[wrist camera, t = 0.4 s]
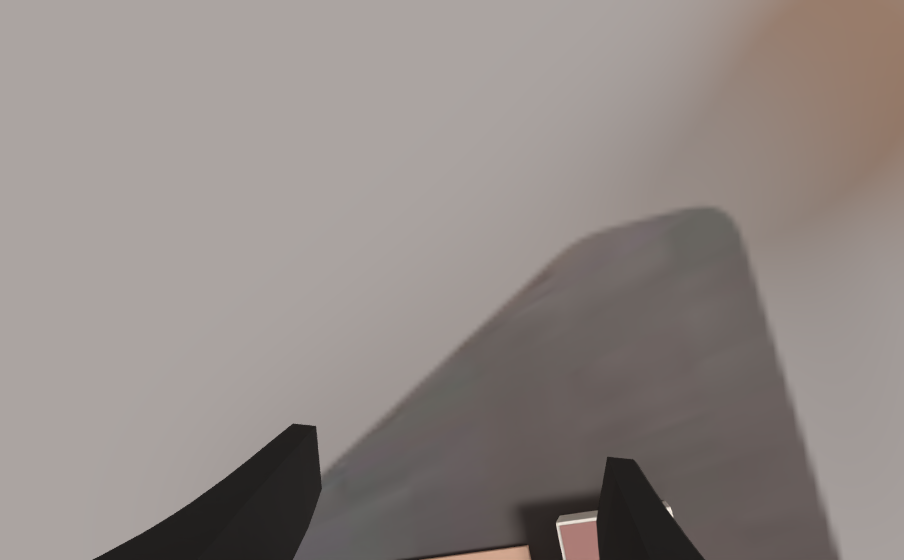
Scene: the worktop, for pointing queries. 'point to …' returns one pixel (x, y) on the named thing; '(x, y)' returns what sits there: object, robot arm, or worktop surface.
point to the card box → (581, 535)
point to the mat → (492, 554)
